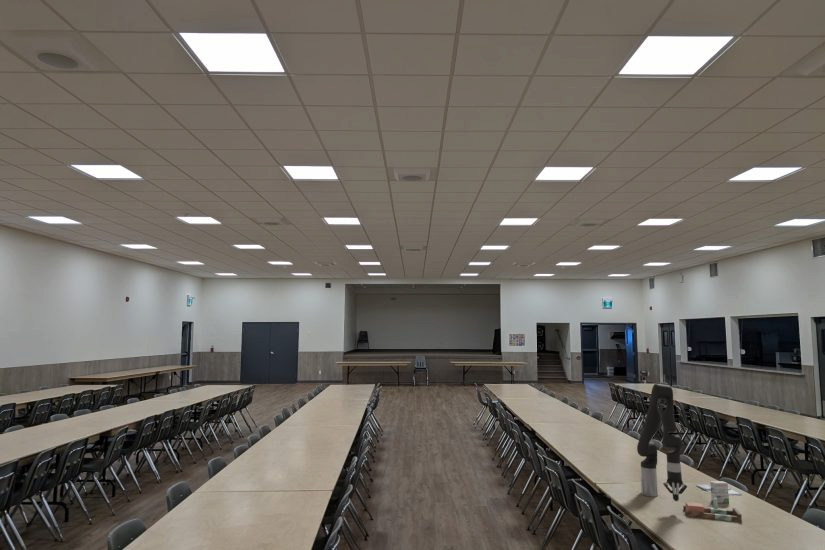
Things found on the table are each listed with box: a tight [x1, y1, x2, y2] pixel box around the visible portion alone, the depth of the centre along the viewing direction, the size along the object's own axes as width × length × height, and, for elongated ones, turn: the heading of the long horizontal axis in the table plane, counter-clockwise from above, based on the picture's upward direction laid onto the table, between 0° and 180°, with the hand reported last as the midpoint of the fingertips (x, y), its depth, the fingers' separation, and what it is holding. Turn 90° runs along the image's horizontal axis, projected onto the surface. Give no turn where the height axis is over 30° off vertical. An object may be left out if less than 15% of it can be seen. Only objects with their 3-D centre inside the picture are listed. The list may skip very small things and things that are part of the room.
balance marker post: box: [712, 498, 719, 509], centre depth 292 cm, size 2×2×7 cm
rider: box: [685, 501, 705, 513], centre depth 287 cm, size 8×6×6 cm
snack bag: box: [695, 484, 743, 496], centre depth 330 cm, size 19×20×2 cm
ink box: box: [709, 480, 730, 504], centre depth 309 cm, size 8×5×12 cm, turn 93°
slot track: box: [682, 504, 743, 523], centre depth 284 cm, size 27×11×4 cm, turn 72°
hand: (676, 500), depth 290 cm, fingers closed
